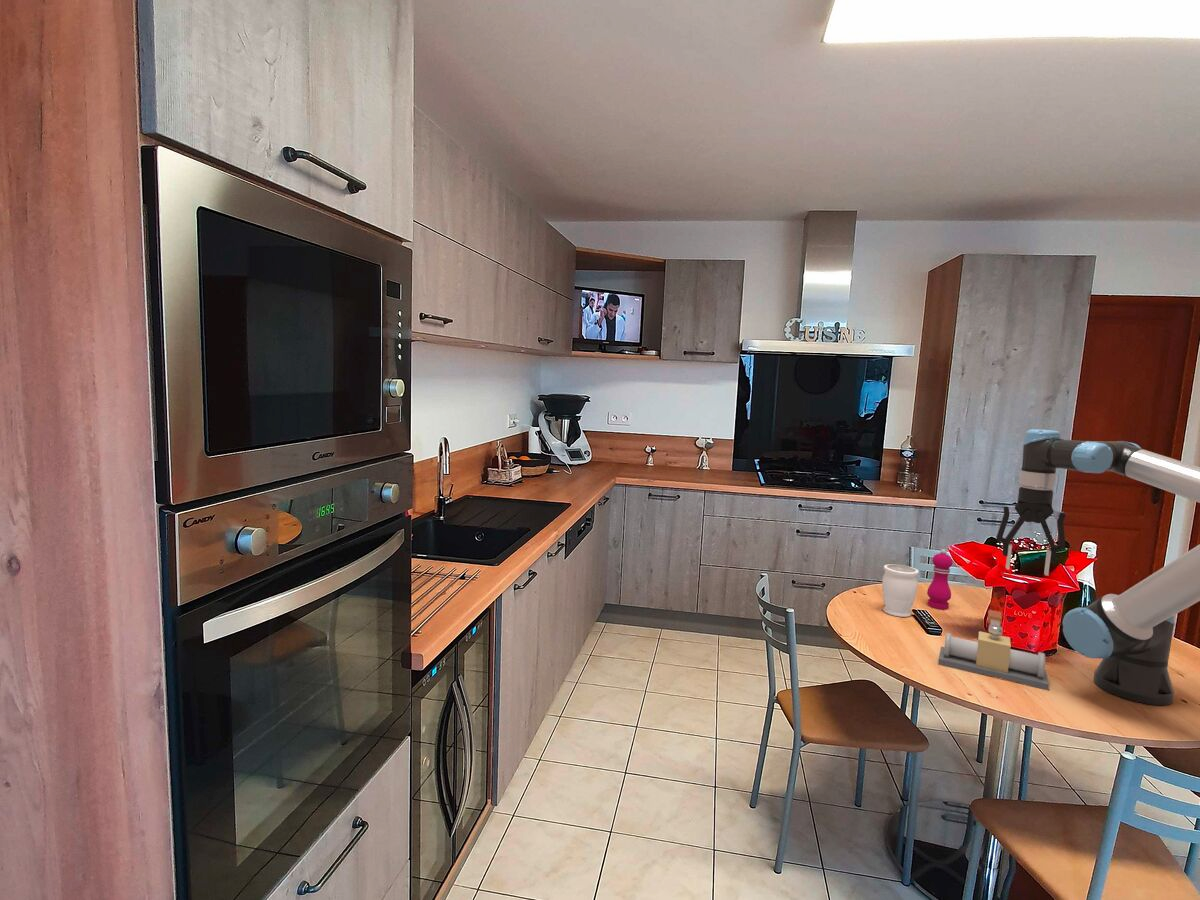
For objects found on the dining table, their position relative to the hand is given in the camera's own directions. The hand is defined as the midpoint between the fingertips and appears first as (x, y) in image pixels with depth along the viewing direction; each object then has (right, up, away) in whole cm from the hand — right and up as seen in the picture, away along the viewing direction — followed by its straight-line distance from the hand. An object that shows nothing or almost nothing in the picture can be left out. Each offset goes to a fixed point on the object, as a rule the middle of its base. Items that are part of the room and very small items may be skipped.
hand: (1026, 571), depth 168 cm
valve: (-12, -25, -4) cm, 28 cm away
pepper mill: (0, -21, +45) cm, 50 cm away
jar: (-17, -21, +37) cm, 46 cm away
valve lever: (-8, -15, +1) cm, 17 cm away
